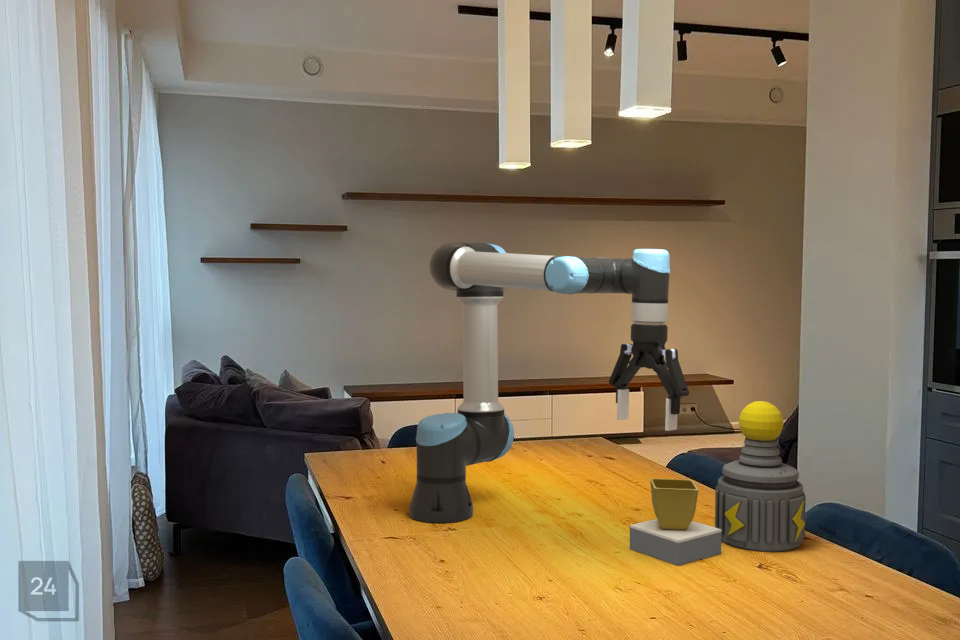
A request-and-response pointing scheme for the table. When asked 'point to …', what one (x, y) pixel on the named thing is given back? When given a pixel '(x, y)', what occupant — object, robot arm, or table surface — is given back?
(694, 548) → the plinth
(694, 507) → the flower pot
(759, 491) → the decorative lamp
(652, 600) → the table surface
